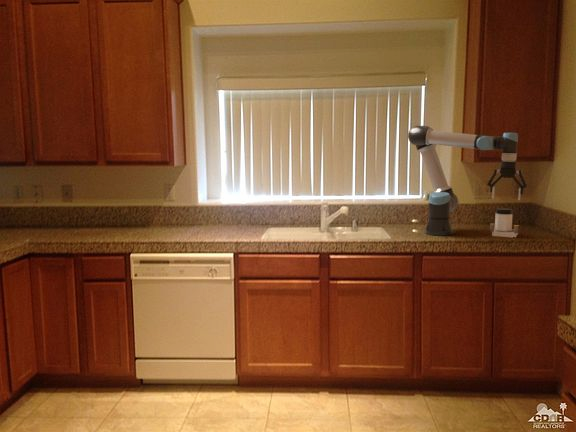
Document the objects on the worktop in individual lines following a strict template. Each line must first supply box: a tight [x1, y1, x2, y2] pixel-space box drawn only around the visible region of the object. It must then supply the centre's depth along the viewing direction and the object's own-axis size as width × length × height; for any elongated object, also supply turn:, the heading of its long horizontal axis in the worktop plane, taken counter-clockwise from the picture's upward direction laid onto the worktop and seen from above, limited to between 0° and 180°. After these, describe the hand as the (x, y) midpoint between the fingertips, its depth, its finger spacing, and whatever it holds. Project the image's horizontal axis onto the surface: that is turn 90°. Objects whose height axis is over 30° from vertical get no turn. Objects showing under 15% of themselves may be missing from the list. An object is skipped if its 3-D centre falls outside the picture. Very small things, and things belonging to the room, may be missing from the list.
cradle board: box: [489, 223, 520, 238], centre depth 284 cm, size 15×16×7 cm
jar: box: [494, 207, 513, 231], centre depth 283 cm, size 9×8×12 cm
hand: (505, 199), depth 281 cm, fingers open, 13 cm apart
